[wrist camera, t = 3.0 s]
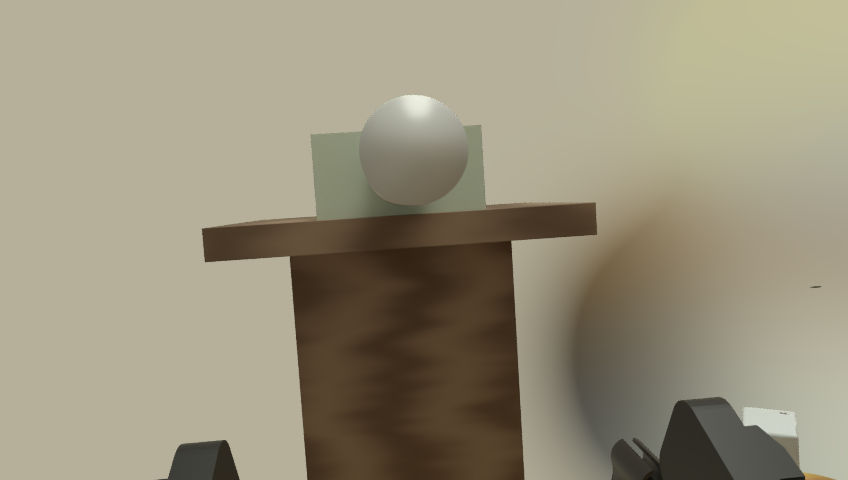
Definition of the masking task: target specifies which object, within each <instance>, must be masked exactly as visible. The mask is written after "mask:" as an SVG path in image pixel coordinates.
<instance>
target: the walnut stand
mask: <svg viewBox="0 0 848 480" xmlns="http://www.w3.org/2000/svg"><path fill="white" fill-rule="evenodd" d="M202 235H203V246H204V257H205V262H213V261H227V260H242V259H257V258H271V257H284V256H290V266H291V278H292V290H293V303H294V315H295V328H296V340H297V353H298V366H299V379H300V390H301V391H300V392H301V404H302V417H303V428H304V441H305V455H306V466H307V479H308V480H524V463H523V445H522V427H521V409H520V391H519V373H518V356H517V337H516V318H515V302H514V301H515V300H514V284H513V264H512V247H511V241H512V240H527V239H541V238H555V237H570V236H584V235H597V224H596V203H514V204H499V205H486V209H485V210H470V211H454V212H439V213H424V214H409V215H394V216H379V217H364V218H349V219H334V220H319V221H317V216H316V217H302V218H286V219H272V220H259V221H253V222H245V223H238V224H232V225H224V226H217V227H211V228H204V229H202Z"/></svg>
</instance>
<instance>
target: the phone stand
mask: <svg viewBox="0 0 848 480" xmlns="http://www.w3.org/2000/svg"><path fill="white" fill-rule="evenodd" d="M633 442H634V443H635V444H636V445H637V446H638V447H639V448H640V449H641V450H642V451H643V459H641V457H640V456H639V455H638V454H637V453H636V452H635V451H634V450H633V449H632V448H631V447H630V446H629V445H628V444H627V443H626V442H625V441H624V440H623V439H621V440H619V441H618V442H617V443H616V444H615V445H614V447H613V449H612V452H611V460H612V465H613V475H612V480H663V479H662V475H661V470H660V460H659V459H658V458H657V457H656V456H655V455H654V454H653V453H652V452H651V451H650V450H649V449H648V448H647V447H646V446H645V445H644V444H643V443H642V442H641V441H639V440H638V439H636V438H633Z"/></svg>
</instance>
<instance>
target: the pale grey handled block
mask: <svg viewBox="0 0 848 480" xmlns="http://www.w3.org/2000/svg"><path fill="white" fill-rule="evenodd" d="M311 146H312V160H313V172H314V186H315V197H316V198H315V199H316V212H317V221H319V220H334V219H349V218H364V217H379V216H394V215H409V214H424V213H439V212H454V211H470V210H485V209H486V203H485V185H484V168H483V150H482V133H481V125H473V126H462V124H461V122H460V120H459V119H458V117H457V116H456V115H455V114H454V113H453V112H452V111H451V110H450V109H449V108H448V107H447V106H445V105H444V104H442V103H441V102H439V101H437V100H435V99H433V98H429V97H426V96H420V95H406V96H401V97H397V98H394V99H392V100H390V101H388V102H386V103H384V104H383V105H381V106H380V107H379V108H378V109H377V110H376V111H375V112H374V113H373V114H372V115H371V116H370V117H369V119H368V120H367V122H366V124H365V126H364V128H363V131H362V132H348V133H330V134H312V135H311Z"/></svg>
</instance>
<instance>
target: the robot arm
mask: <svg viewBox="0 0 848 480" xmlns="http://www.w3.org/2000/svg"><path fill="white" fill-rule="evenodd" d="M660 470H661V475H662V479H663V480H805V476H804V474H803V473H802V471H801V470H800V469H799V467H798V466H797V464H796V463H795V462H794V460H793V459H792V457H791V456H790V454H789V453H788V452H787V450H786V449H785V448H784V447H783V446H782V445H781V444H779V443H778V442H777V441H776V440H774V439H773V438H772V437H771V436H770V435H768V434H767V433H766V432H765V431H764V430H762V429H761V428H760V427H759V426H757V425H751V426H744V425H743V423H742V422H741V420H740V419H739V417H738V416H737V414H736V413H735V411H734V409H733V408H732V407H731V405H730V404H729V403H728V402H727V401H726V400H725V399H723V398H721V397H714V398H704V399H692V400H681V401H678V402H677V403H676V404H675V406H674V409H673V412H672V415H671V419H670V422H669V425H668V428H667V432H666V435H665V438H664V441H663V444H662V448H661V451H660ZM160 480H239V476H238V473H237V470H236V466H235V463H234V460H233V457H232V454H231V451H230V447H229V444H228V443H227V441H226V440H222V441H209V442H199V443H187V444H181V445H180V446H179V447H178V449H177V451H176V453H175V456H174V460H173V463H172V466H171V470H170V473H169V477H168V479H160Z"/></svg>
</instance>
